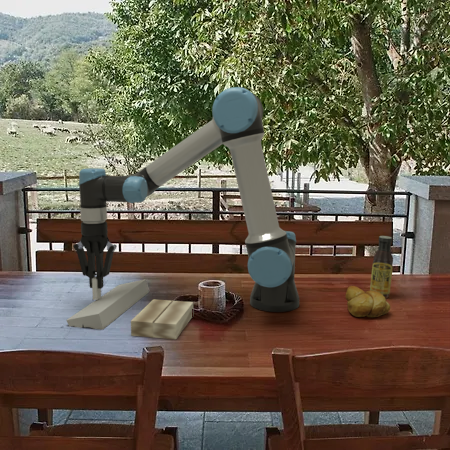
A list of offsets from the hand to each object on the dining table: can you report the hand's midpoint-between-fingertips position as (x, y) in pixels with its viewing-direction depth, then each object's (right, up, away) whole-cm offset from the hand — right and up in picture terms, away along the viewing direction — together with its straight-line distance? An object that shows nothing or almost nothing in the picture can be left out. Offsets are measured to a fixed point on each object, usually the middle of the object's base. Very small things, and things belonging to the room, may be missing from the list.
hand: (97, 298), depth 154 cm
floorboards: (+22, -5, -15) cm, 27 cm away
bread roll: (+81, -4, -5) cm, 81 cm away
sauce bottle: (+89, -1, +12) cm, 90 cm away
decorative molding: (+5, -3, -1) cm, 6 cm away
